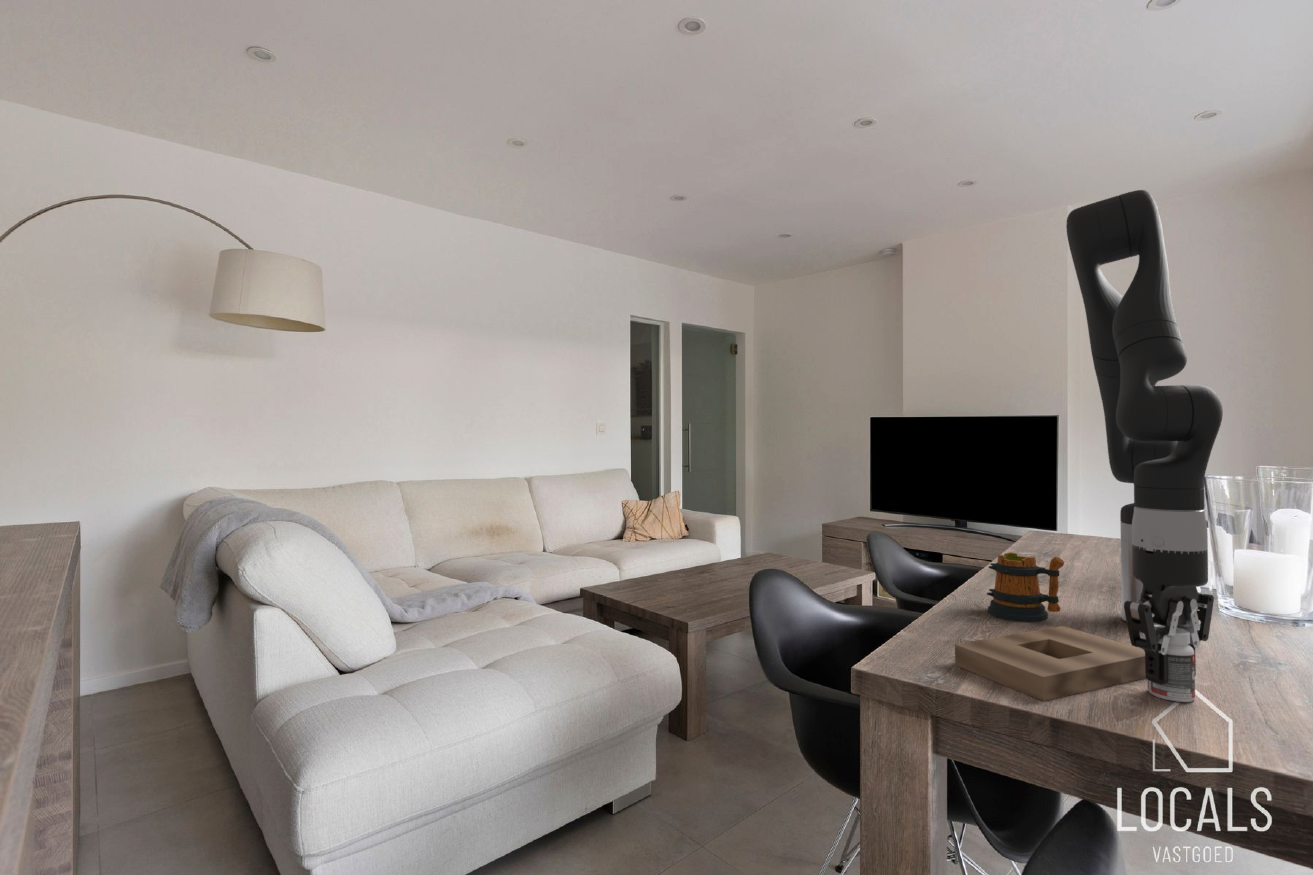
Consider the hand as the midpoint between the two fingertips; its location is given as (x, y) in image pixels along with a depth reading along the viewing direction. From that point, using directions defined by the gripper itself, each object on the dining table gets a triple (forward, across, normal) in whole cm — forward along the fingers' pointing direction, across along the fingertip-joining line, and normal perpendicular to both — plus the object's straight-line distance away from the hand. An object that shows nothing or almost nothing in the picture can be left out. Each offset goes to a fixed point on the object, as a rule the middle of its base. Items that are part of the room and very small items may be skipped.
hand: (1170, 678), depth 83 cm
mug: (+2, -15, -33) cm, 36 cm away
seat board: (+2, +5, -12) cm, 13 cm away
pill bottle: (+2, 0, 0) cm, 2 cm away
